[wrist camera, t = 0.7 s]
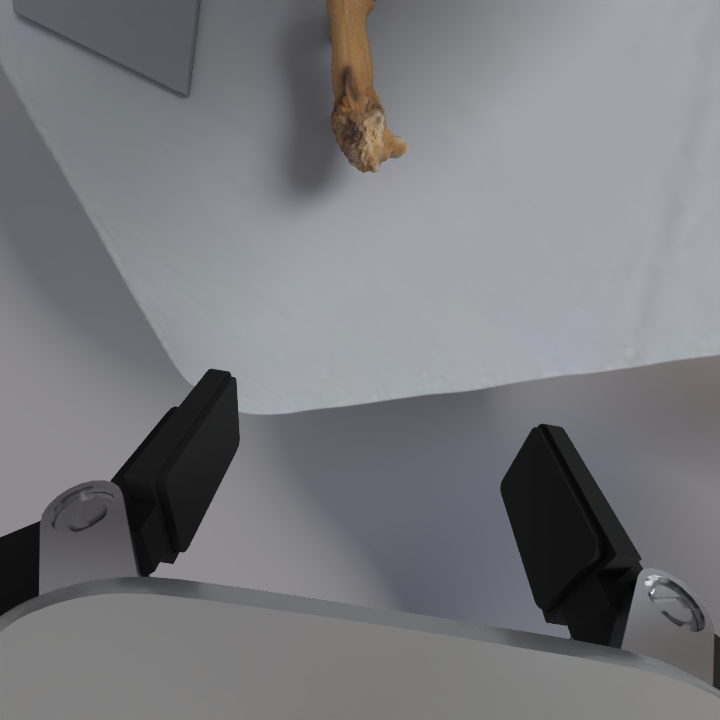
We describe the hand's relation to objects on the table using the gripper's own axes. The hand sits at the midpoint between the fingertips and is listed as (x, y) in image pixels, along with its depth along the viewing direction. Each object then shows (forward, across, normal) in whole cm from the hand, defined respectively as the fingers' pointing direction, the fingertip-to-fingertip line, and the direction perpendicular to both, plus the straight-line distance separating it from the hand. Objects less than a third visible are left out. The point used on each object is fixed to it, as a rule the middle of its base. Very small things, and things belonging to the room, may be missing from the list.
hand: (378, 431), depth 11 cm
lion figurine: (+29, +4, -12) cm, 32 cm away
